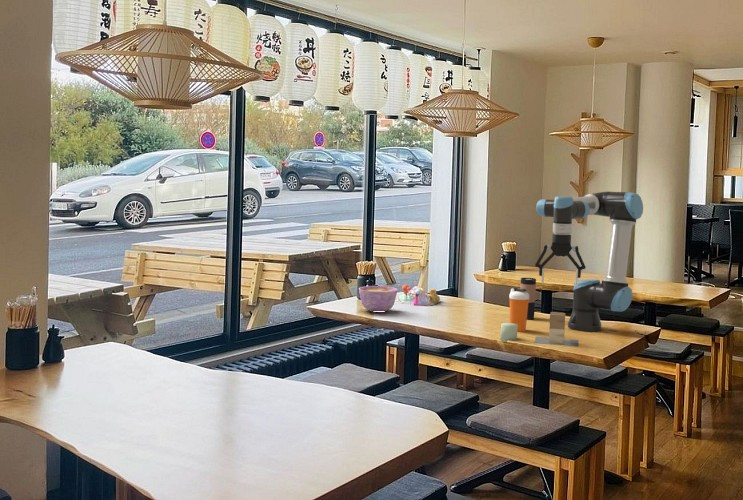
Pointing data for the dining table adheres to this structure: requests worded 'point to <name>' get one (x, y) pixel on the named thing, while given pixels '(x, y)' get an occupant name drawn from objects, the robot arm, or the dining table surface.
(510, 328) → the pale green cube
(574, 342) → the slate board
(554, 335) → the block bottom
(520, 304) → the shaker bottle
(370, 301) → the bowl of food
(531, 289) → the travel mug
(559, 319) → the block top
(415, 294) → the colourful toy figurine cluster
